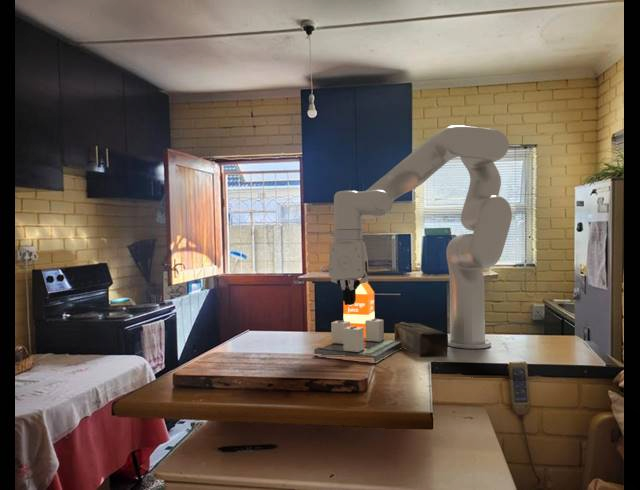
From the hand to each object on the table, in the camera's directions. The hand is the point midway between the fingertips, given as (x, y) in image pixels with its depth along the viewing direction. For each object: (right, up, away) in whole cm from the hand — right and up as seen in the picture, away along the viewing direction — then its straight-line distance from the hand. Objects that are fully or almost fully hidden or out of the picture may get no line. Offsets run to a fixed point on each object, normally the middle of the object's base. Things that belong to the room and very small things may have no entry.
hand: (349, 304), depth 125 cm
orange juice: (+4, -13, +14) cm, 20 cm away
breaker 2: (+7, -10, +4) cm, 13 cm away
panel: (+3, -13, -1) cm, 13 cm away
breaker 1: (+1, -10, -8) cm, 13 cm away
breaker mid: (-2, -11, +1) cm, 11 cm away
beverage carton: (+19, -13, +2) cm, 24 cm away
